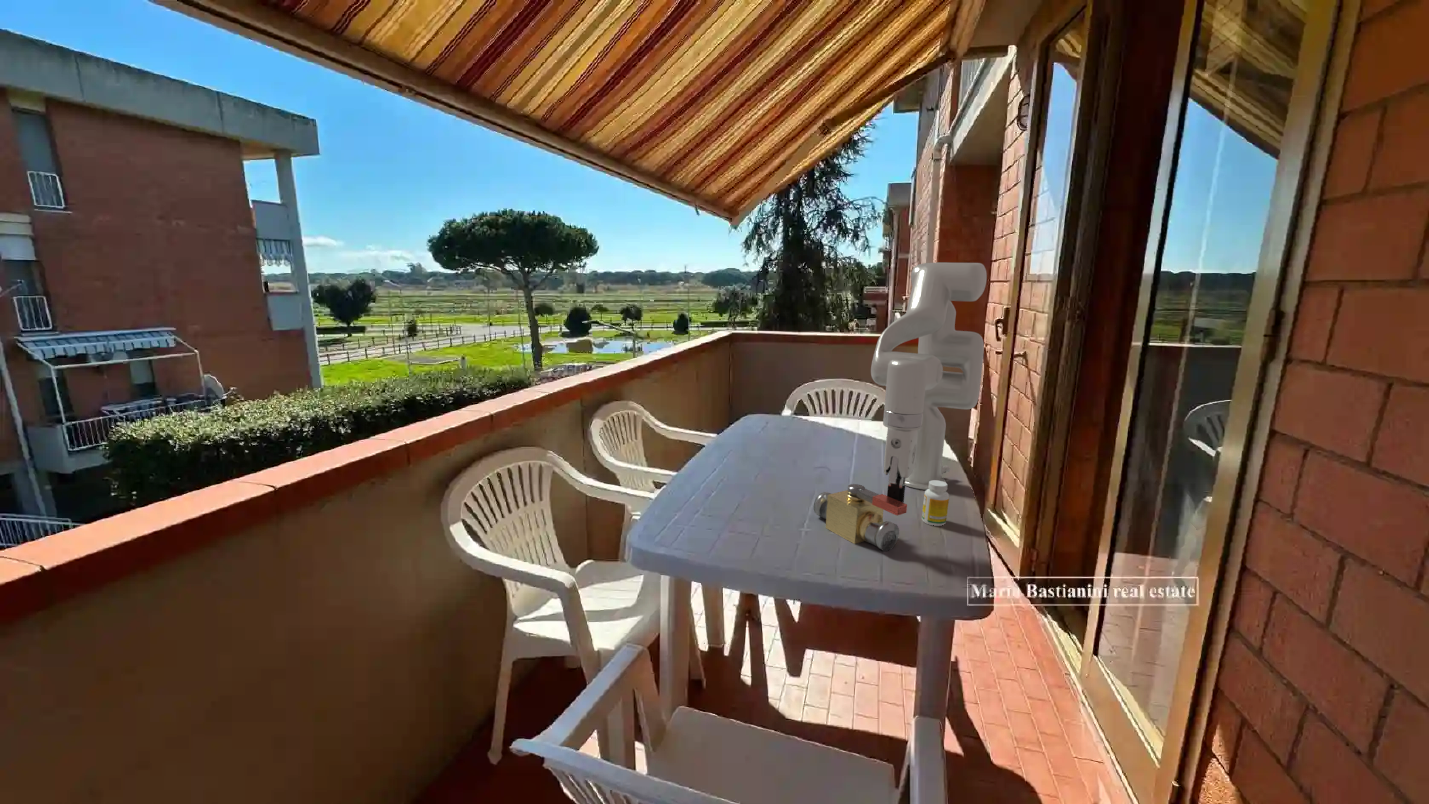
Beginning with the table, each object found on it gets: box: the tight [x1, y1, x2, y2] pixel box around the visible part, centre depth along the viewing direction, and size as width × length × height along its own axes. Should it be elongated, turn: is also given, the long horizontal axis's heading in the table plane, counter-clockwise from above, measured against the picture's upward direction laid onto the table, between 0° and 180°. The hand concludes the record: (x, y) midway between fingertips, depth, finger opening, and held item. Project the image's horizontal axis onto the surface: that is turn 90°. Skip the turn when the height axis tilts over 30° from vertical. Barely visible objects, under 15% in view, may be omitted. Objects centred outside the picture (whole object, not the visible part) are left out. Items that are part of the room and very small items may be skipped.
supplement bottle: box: [921, 480, 950, 527], centre depth 131 cm, size 5×5×10 cm
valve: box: [813, 489, 900, 552], centre depth 125 cm, size 20×8×9 cm, turn 31°
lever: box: [847, 483, 908, 516], centre depth 119 cm, size 14×4×2 cm, turn 32°
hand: (894, 503), depth 119 cm, fingers closed
